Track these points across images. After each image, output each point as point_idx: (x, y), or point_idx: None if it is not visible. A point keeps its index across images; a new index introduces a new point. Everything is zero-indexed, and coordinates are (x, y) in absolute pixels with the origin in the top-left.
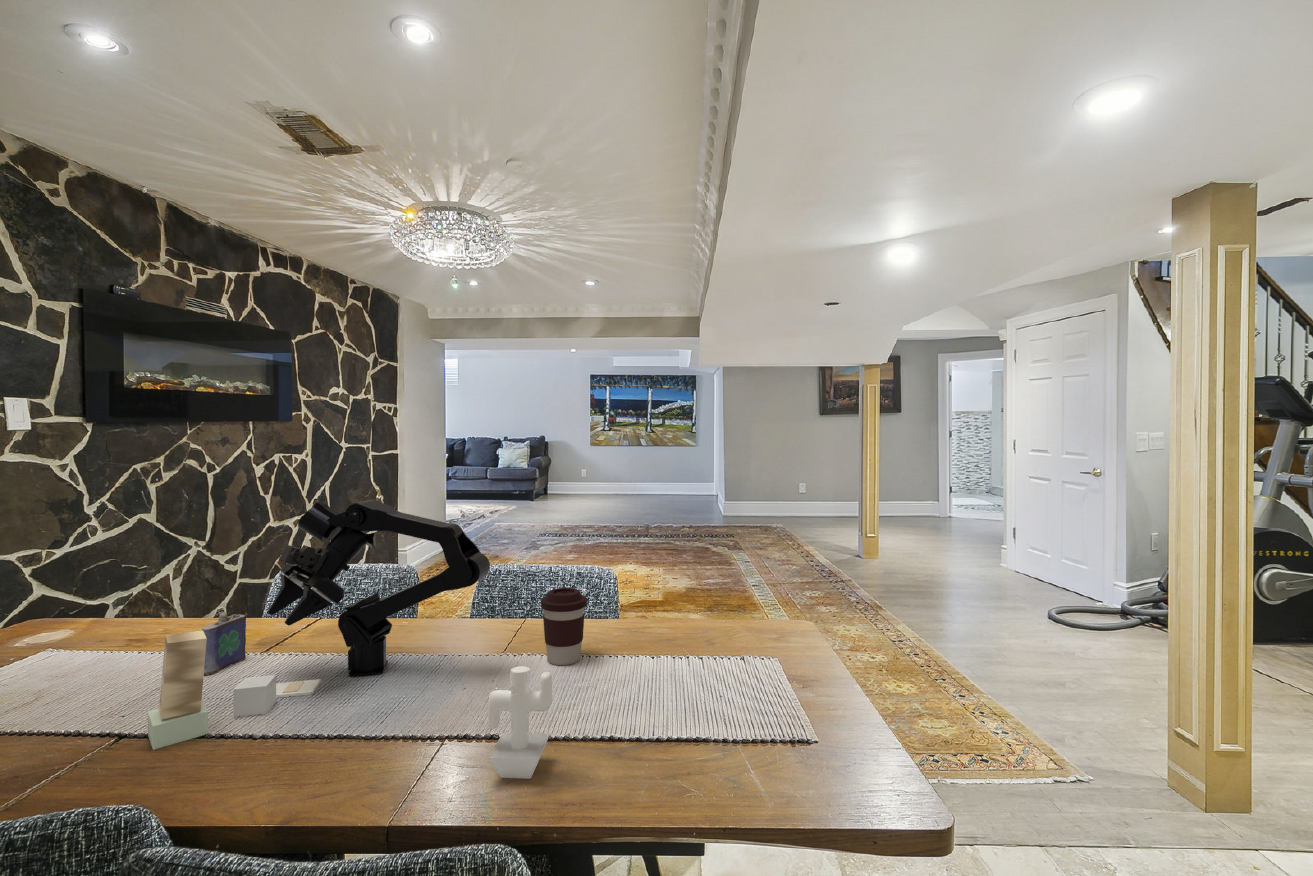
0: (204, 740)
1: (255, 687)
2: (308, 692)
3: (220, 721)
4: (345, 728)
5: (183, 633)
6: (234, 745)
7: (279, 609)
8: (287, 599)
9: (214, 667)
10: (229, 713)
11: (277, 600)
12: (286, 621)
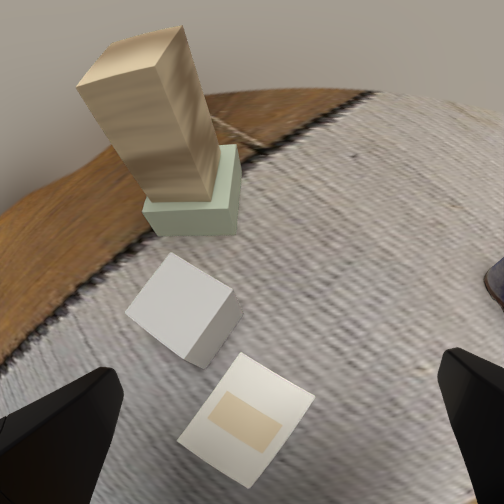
0: (139, 229)
1: (140, 292)
2: (181, 434)
3: (193, 259)
4: (12, 388)
5: (164, 42)
6: (85, 258)
7: (453, 419)
8: (499, 476)
9: (495, 285)
10: (220, 279)
11: (501, 402)
12: (94, 371)
